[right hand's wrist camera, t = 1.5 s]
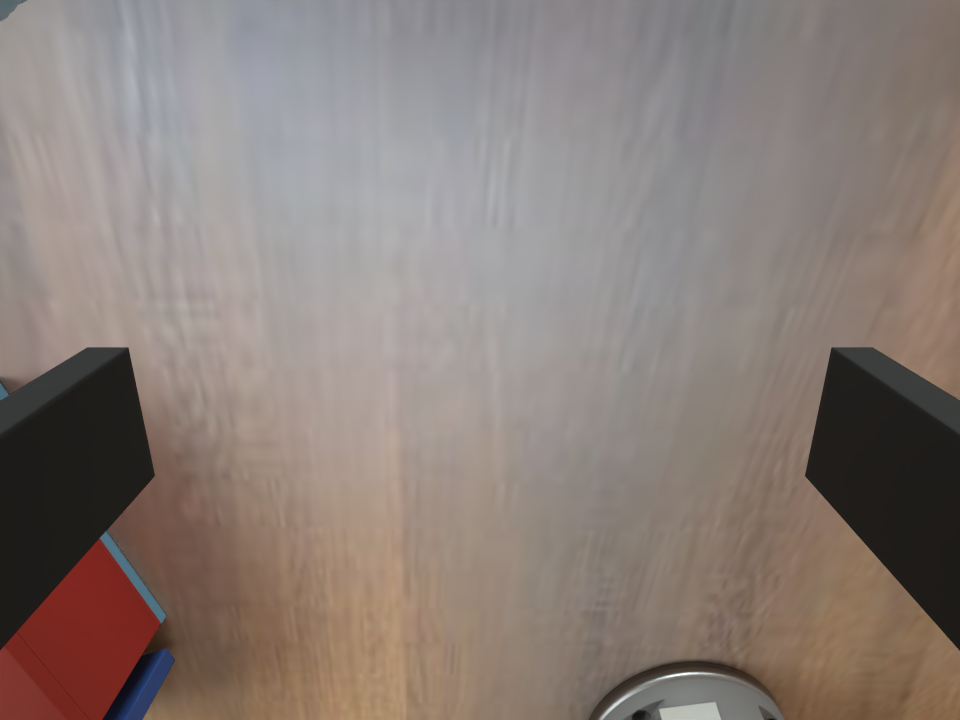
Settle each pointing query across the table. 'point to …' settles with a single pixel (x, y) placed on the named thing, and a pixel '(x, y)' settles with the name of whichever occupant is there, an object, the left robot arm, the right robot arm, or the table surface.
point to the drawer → (141, 687)
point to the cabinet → (79, 640)
